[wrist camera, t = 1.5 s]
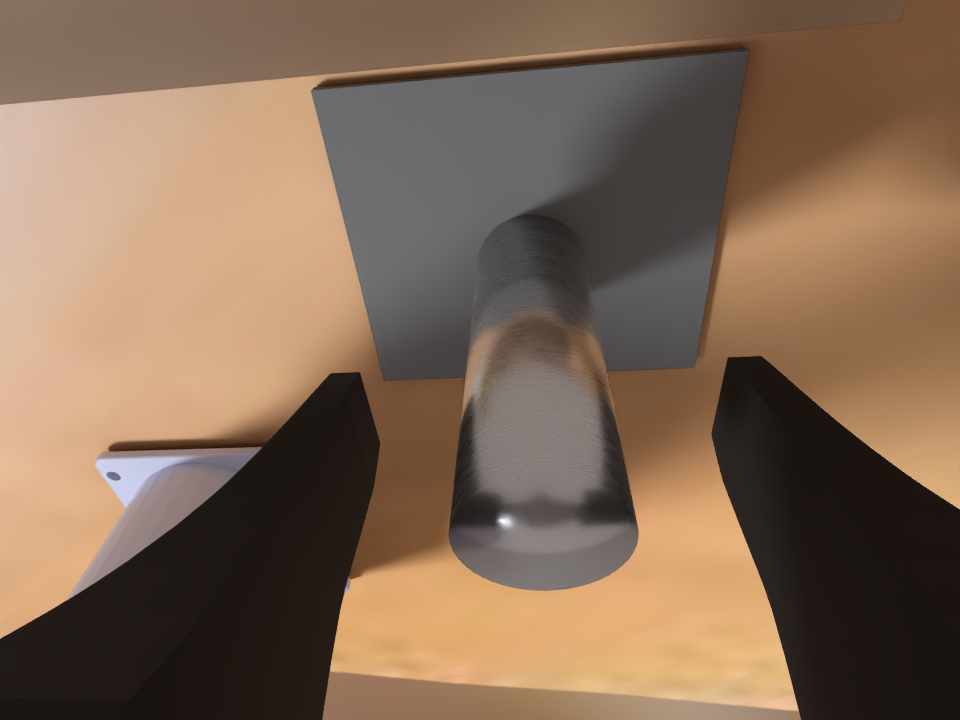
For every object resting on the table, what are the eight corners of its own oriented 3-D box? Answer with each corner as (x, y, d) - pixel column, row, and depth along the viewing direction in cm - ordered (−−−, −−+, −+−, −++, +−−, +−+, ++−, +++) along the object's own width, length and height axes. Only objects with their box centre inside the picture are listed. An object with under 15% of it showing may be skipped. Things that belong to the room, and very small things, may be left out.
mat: (692, 362, 19) (694, 367, 18) (386, 374, 19) (384, 380, 19) (744, 48, 13) (748, 50, 13) (314, 87, 14) (310, 90, 14)
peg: (583, 307, 17) (631, 590, 10) (482, 312, 17) (460, 591, 10) (585, 210, 15) (646, 474, 8) (472, 218, 16) (436, 479, 8)
